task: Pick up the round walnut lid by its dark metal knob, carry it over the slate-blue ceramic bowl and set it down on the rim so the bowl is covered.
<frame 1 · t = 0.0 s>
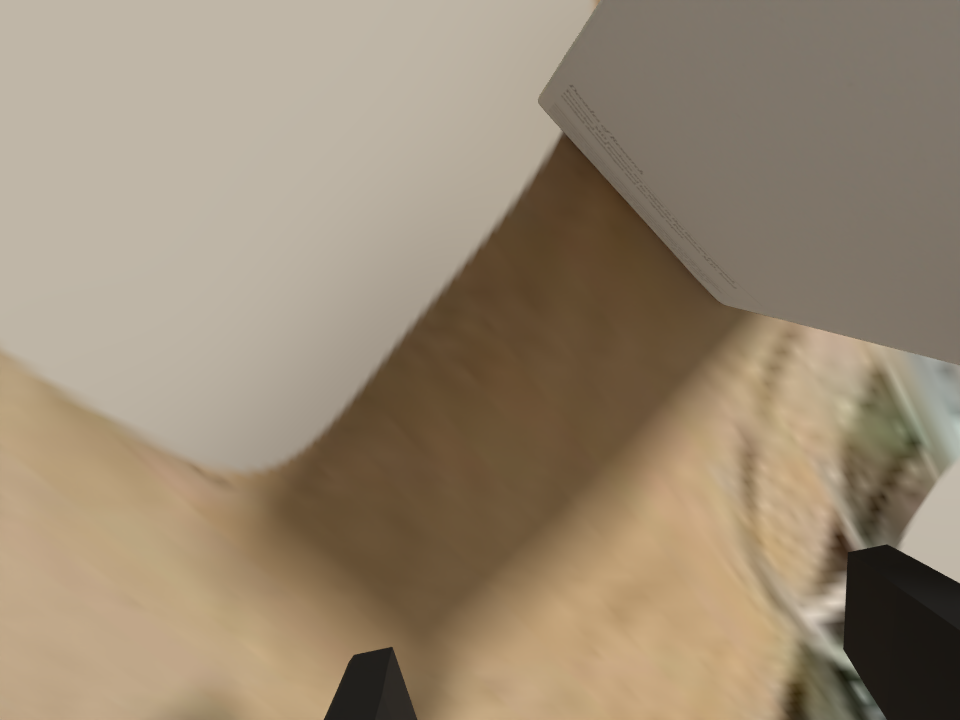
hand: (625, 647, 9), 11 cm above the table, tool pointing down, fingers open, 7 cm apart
supplement box: (738, 105, 18), on the table
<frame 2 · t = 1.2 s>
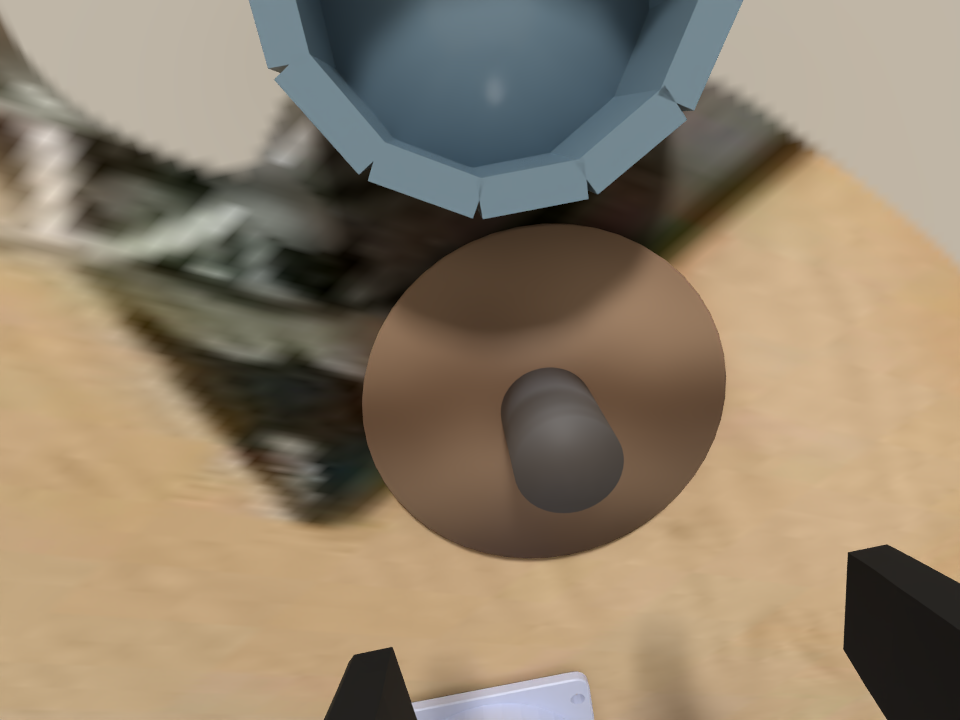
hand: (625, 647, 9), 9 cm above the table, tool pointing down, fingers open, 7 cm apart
lid: (542, 399, 19), on the table
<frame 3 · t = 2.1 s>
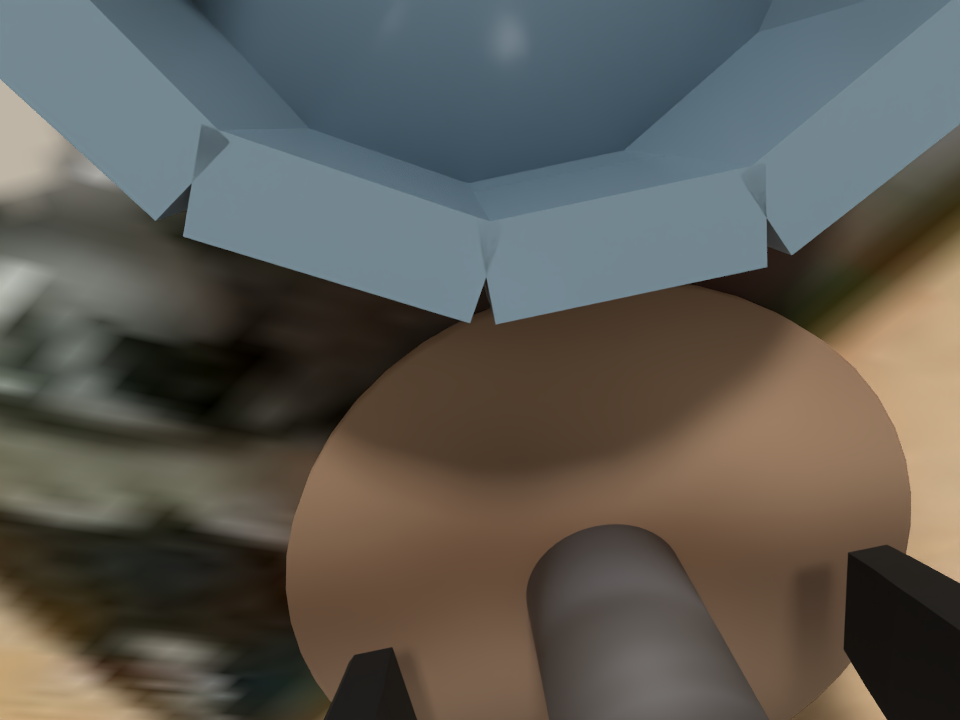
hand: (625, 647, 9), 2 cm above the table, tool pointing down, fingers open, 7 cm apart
lid: (593, 559, 11), on the table
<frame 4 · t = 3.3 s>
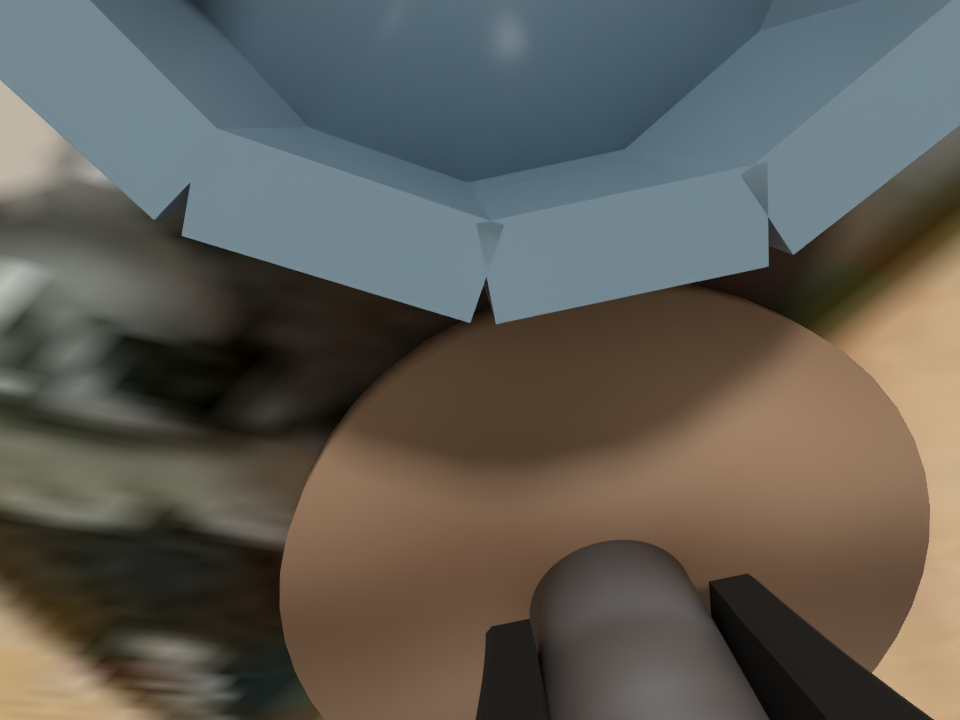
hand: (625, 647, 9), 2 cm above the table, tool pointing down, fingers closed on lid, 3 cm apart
lid: (599, 574, 11), on the table, touching gripper
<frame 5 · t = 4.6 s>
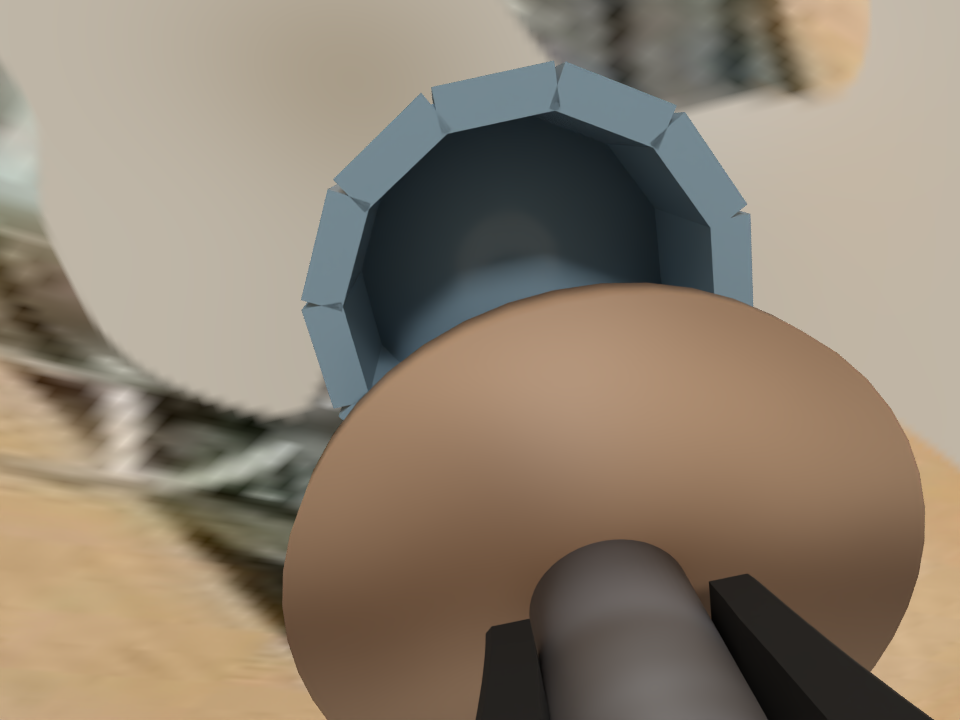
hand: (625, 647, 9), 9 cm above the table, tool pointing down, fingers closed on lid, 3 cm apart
lid: (598, 574, 11), point 7 cm above the table, touching gripper
bowl: (511, 271, 16), on the table
when the fingers open (7 cm above the table, at t = 5.9 s): lid drops 1 cm, resting on bowl.
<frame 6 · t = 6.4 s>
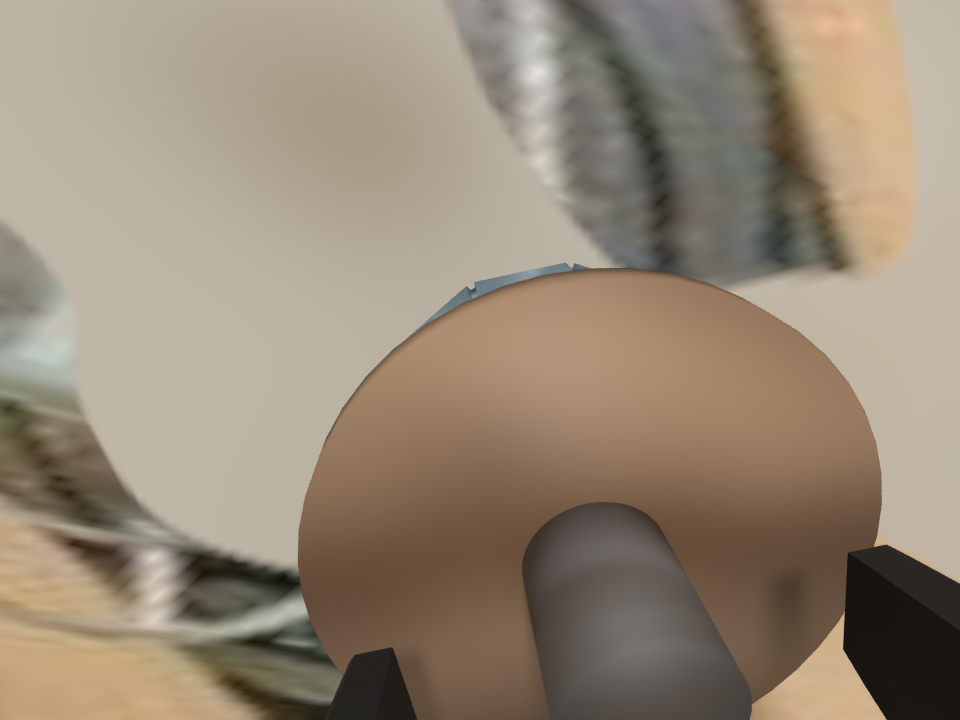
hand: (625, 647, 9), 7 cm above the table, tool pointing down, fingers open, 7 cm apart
lid: (585, 537, 12), point 4 cm above the table, touching bowl
bowl: (548, 436, 16), on the table, touching lid
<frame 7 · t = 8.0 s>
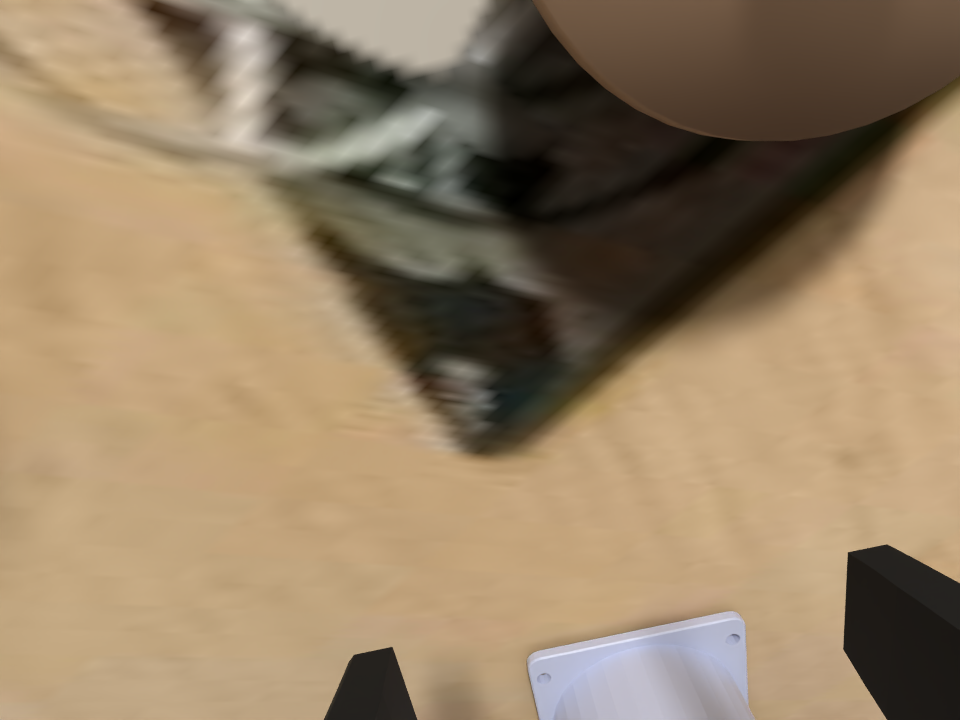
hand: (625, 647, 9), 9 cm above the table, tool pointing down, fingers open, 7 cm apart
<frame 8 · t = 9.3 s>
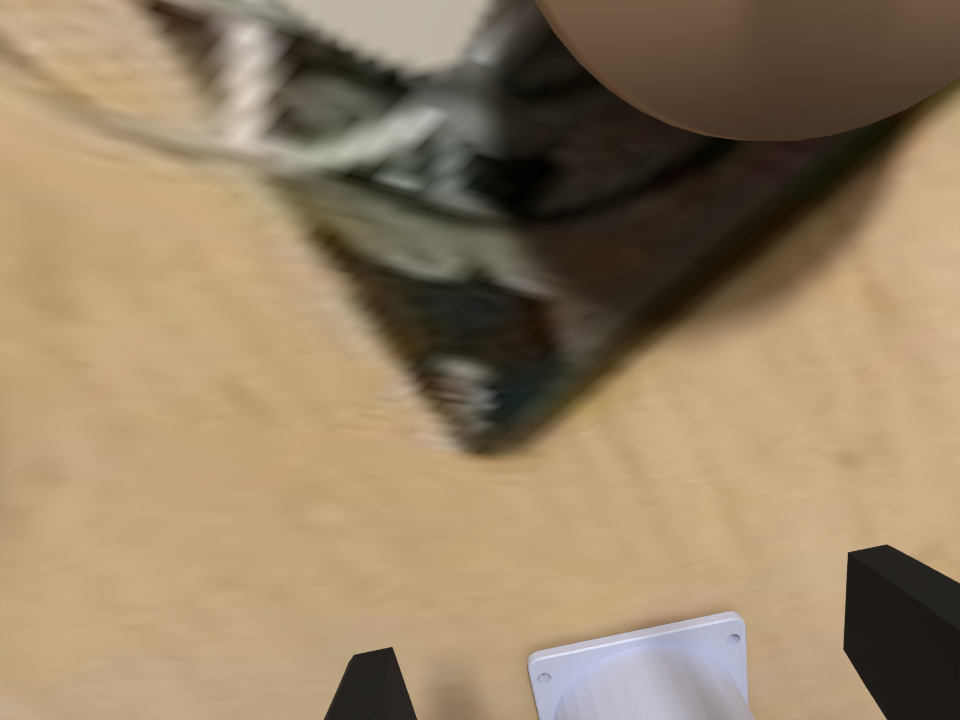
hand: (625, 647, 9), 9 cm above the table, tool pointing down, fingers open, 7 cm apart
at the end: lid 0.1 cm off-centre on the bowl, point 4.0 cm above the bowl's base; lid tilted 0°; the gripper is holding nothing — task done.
